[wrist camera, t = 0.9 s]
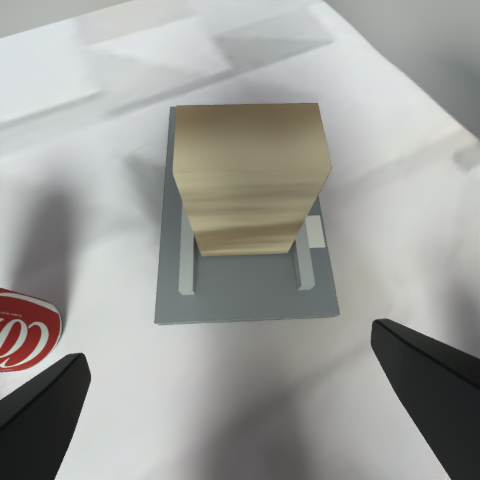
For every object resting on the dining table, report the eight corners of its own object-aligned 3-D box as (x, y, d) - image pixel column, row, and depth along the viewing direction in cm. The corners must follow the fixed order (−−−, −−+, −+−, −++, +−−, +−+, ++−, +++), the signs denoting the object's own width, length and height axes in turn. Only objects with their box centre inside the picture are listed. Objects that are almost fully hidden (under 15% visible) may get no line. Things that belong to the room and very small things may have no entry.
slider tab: (287, 253, 22) (331, 168, 12) (201, 256, 22) (172, 172, 12) (282, 210, 24) (317, 103, 13) (202, 212, 23) (176, 105, 13)
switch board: (333, 317, 22) (347, 311, 19) (159, 325, 21) (148, 320, 19) (298, 115, 30) (304, 91, 28) (173, 118, 30) (166, 94, 27)
